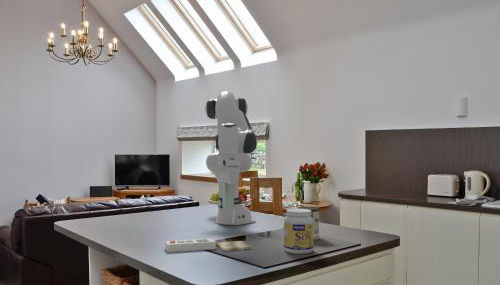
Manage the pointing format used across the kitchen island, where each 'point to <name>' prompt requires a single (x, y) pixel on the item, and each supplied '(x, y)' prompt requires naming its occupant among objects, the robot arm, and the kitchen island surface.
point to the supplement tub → (298, 231)
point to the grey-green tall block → (227, 197)
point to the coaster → (233, 245)
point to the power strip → (190, 245)
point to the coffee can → (316, 220)
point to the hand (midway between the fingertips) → (228, 193)
